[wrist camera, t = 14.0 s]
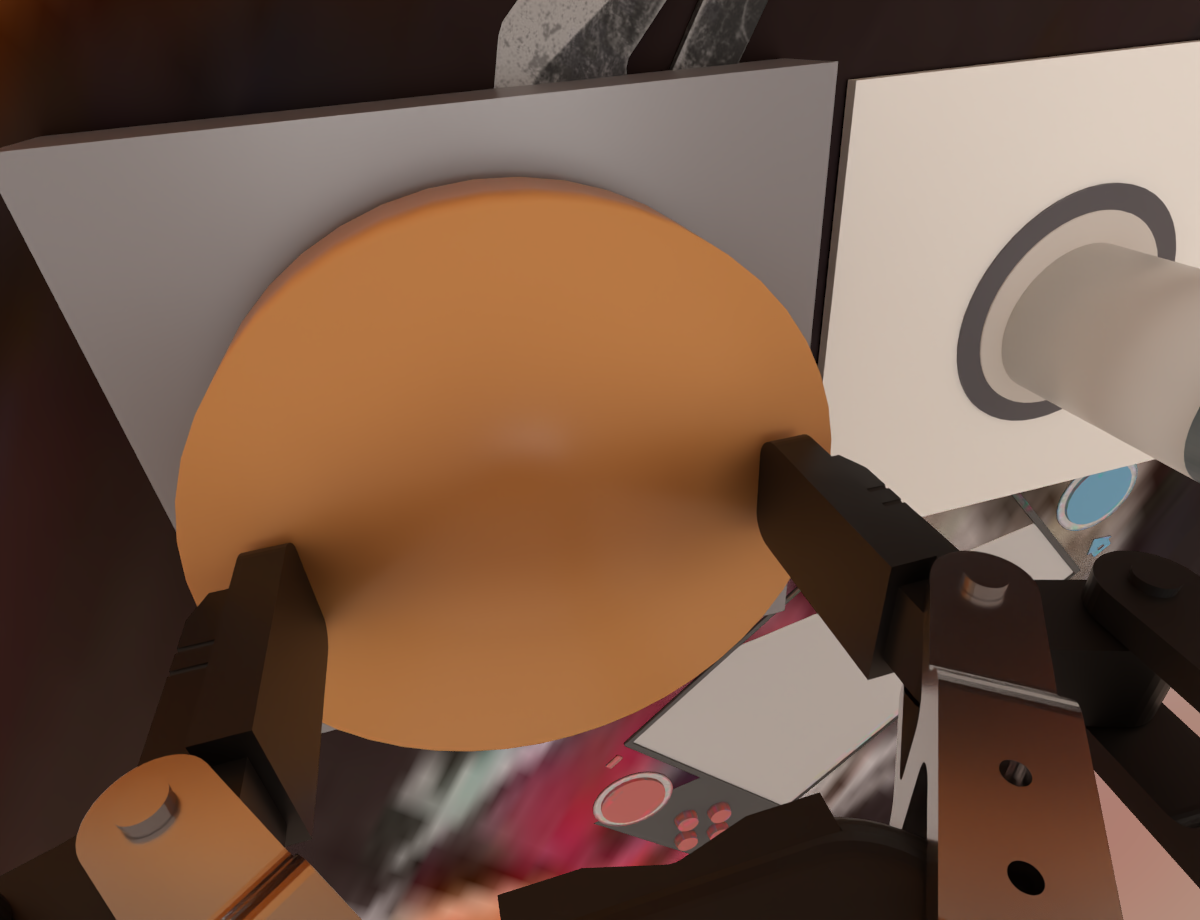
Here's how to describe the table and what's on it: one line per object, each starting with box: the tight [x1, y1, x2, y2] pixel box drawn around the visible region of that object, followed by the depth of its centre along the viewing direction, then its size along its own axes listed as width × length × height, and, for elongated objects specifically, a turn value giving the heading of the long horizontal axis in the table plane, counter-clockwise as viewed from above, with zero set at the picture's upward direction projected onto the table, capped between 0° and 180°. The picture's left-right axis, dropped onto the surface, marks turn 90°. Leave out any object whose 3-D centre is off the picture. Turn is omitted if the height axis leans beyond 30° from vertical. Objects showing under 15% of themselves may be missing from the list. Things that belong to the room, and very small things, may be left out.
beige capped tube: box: [1002, 243, 1200, 483], centre depth 15 cm, size 4×4×7 cm
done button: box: [175, 177, 831, 751], centre depth 13 cm, size 11×11×2 cm
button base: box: [0, 58, 838, 733], centre depth 15 cm, size 13×13×2 cm
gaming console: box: [593, 464, 1137, 854], centre depth 24 cm, size 22×1×10 cm
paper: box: [818, 40, 1200, 517], centre depth 18 cm, size 12×14×1 cm
